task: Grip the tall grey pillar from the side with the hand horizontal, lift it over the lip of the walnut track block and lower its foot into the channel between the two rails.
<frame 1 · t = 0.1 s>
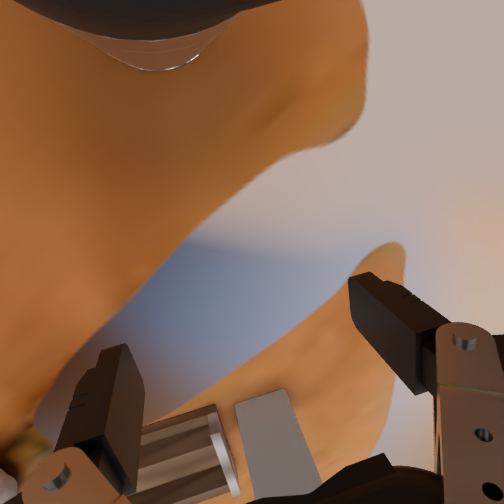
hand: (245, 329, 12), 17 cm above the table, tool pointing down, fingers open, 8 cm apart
track block: (159, 459, 39), on the table
tall grey pillar: (262, 407, 40), on the table
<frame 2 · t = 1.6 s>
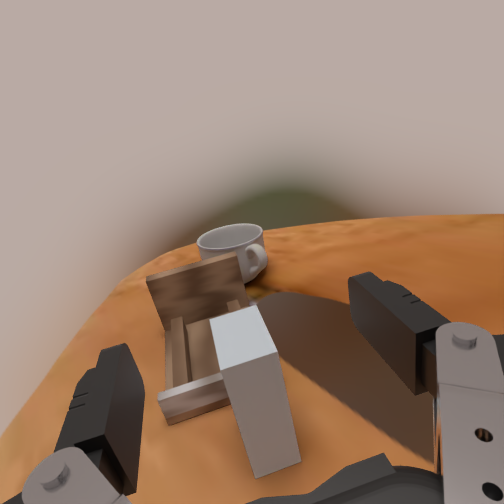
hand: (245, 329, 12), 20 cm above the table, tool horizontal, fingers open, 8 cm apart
track block: (216, 354, 42), on the table
teacup: (243, 280, 57), on the table
tall grey pillar: (268, 438, 30), on the table
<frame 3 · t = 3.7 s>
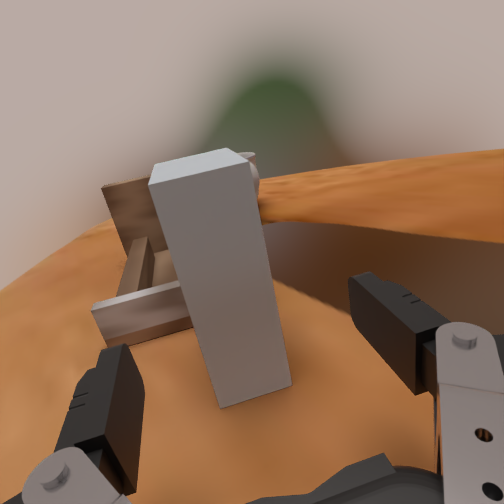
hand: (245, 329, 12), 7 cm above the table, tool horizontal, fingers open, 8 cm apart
track block: (187, 279, 32), on the table
tall grey pillar: (245, 359, 21), on the table
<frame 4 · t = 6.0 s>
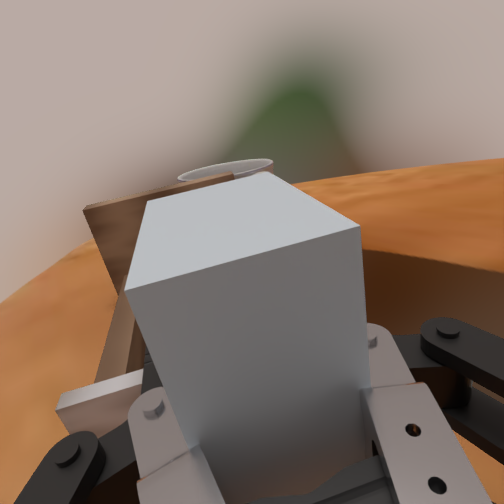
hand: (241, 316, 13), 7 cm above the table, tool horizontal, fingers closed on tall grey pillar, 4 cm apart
track block: (195, 330, 25), on the table
teacup: (244, 236, 40), on the table
tall grey pillar: (292, 502, 13), on the table, touching gripper
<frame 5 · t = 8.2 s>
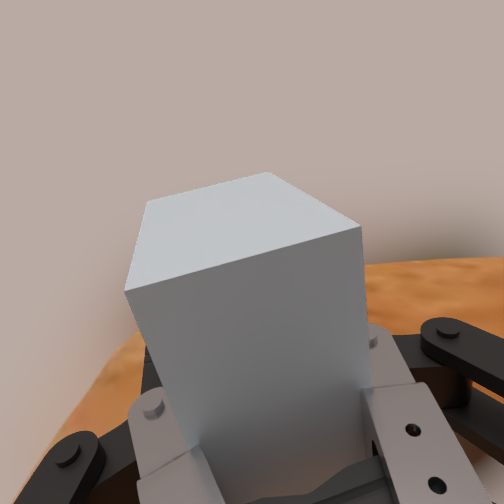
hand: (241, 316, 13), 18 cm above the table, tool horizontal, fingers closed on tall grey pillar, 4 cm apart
tall grey pillar: (292, 502, 13), point 11 cm above the table, touching gripper
when the fingers open (9 cm above the table, at t = 10.3 s): tall grey pillar drops 1 cm, resting on track block.
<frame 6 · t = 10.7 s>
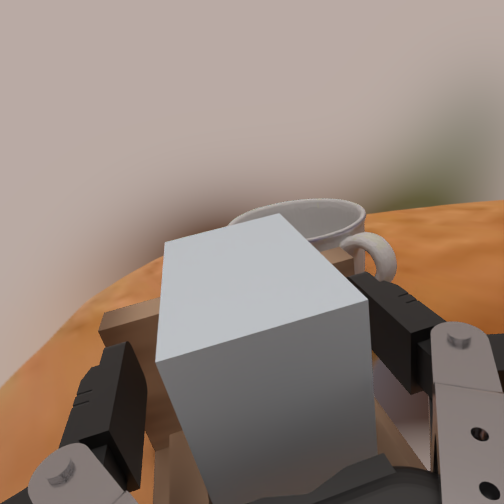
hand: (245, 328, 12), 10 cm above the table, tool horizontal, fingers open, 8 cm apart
teacup: (316, 308, 29), on the table
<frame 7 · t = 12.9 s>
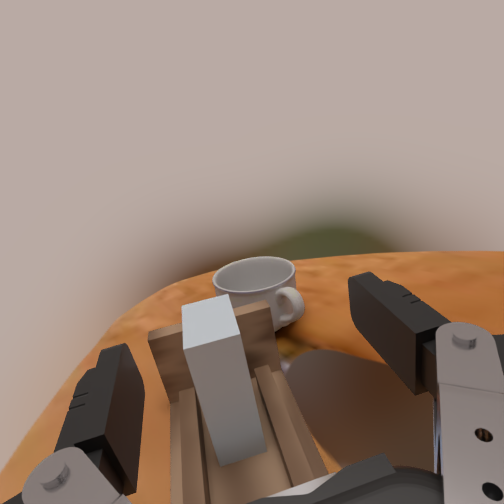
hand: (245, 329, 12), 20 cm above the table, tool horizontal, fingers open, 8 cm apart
track block: (240, 446, 30), on the table
teacup: (268, 327, 46), on the table
tall grey pillar: (237, 428, 31), point 1 cm above the table, touching track block
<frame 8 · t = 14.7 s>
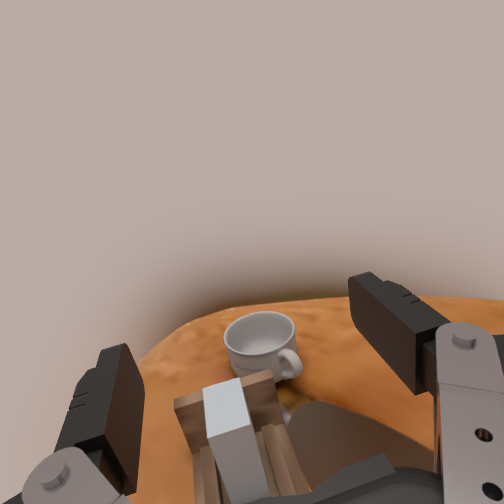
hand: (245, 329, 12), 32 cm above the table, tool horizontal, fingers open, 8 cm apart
track block: (251, 495, 37), on the table
teacup: (272, 376, 53), on the table
tall grey pillar: (248, 480, 38), point 1 cm above the table, touching track block
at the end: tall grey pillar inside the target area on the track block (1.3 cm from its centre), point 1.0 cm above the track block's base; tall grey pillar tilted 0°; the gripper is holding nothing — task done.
